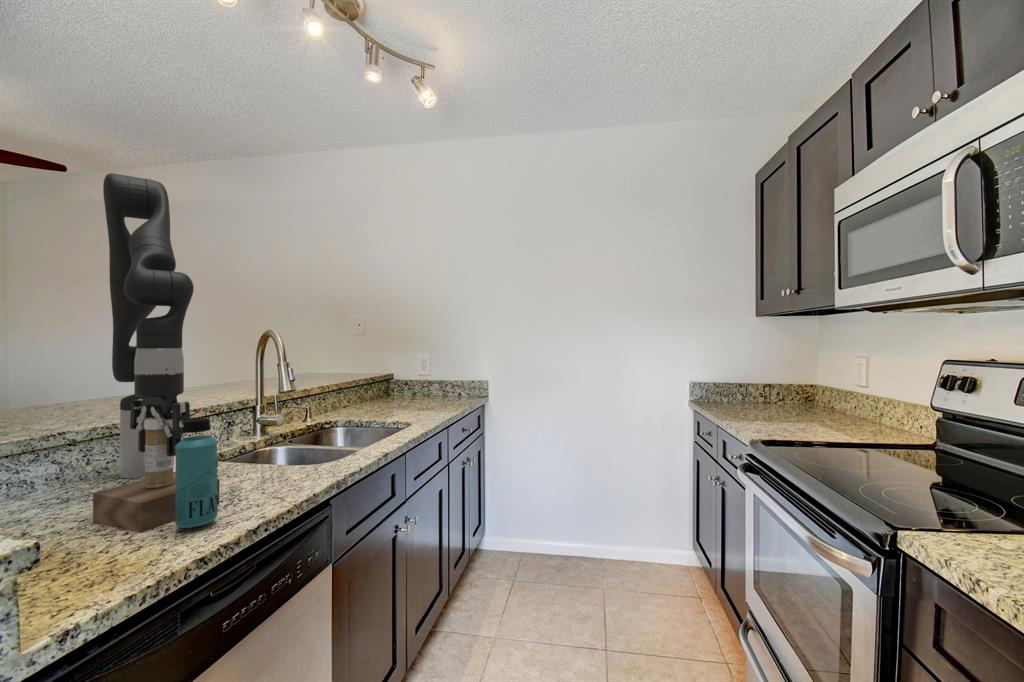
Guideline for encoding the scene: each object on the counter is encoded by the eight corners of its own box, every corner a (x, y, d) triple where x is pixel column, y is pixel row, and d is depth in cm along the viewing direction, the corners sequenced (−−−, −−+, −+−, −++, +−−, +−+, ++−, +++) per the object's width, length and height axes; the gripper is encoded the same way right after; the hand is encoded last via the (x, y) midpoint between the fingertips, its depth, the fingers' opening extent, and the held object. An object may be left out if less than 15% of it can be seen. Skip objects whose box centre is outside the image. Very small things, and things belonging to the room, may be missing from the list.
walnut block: (92, 525, 80) (93, 493, 80) (173, 498, 93) (174, 471, 93) (141, 537, 75) (141, 503, 75) (219, 507, 88) (219, 478, 88)
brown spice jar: (173, 479, 87) (173, 414, 87) (174, 486, 84) (175, 418, 83) (143, 484, 84) (143, 416, 84) (144, 491, 81) (144, 421, 80)
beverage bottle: (183, 540, 73) (183, 423, 73) (167, 531, 76) (167, 419, 76) (225, 526, 78) (225, 417, 78) (208, 518, 82) (208, 414, 82)
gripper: (114, 371, 83) (114, 454, 83) (162, 373, 78) (161, 462, 78) (157, 369, 90) (157, 445, 90) (204, 371, 85) (203, 452, 85)
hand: (159, 453), depth 84 cm, fingers open, 8 cm apart
